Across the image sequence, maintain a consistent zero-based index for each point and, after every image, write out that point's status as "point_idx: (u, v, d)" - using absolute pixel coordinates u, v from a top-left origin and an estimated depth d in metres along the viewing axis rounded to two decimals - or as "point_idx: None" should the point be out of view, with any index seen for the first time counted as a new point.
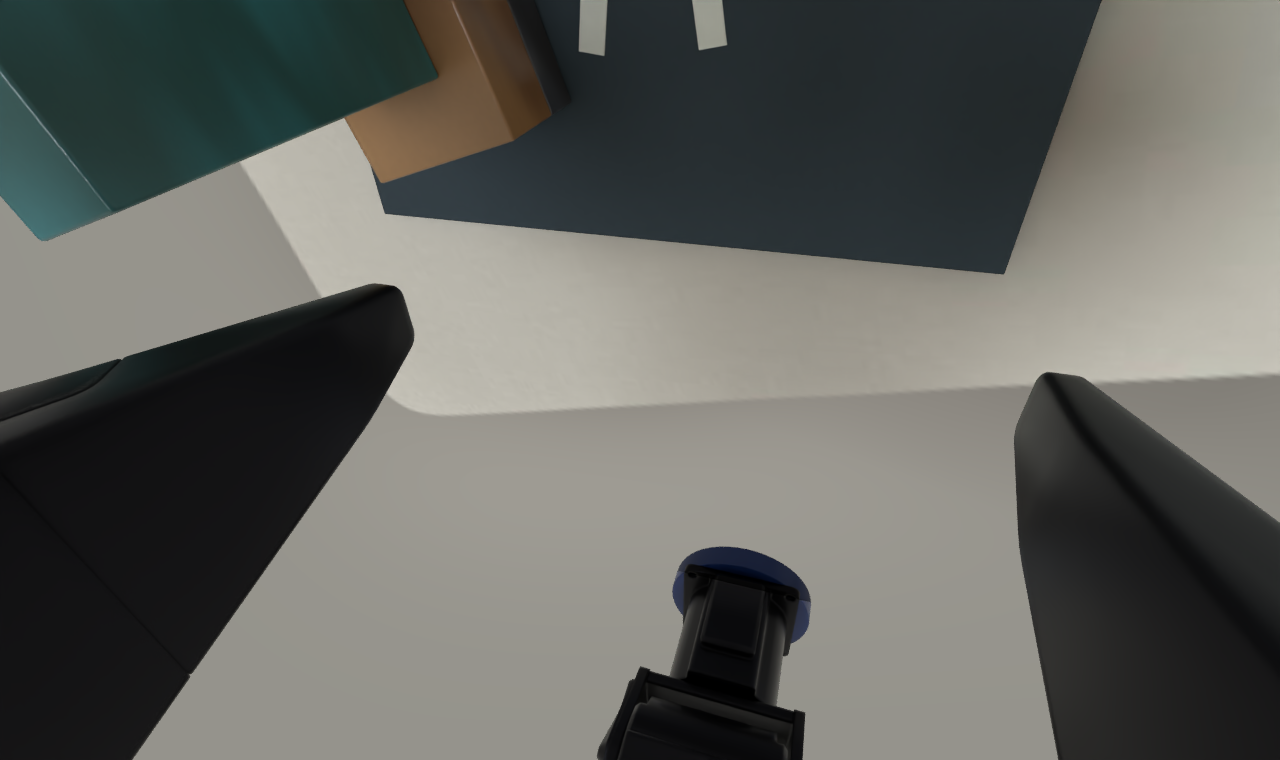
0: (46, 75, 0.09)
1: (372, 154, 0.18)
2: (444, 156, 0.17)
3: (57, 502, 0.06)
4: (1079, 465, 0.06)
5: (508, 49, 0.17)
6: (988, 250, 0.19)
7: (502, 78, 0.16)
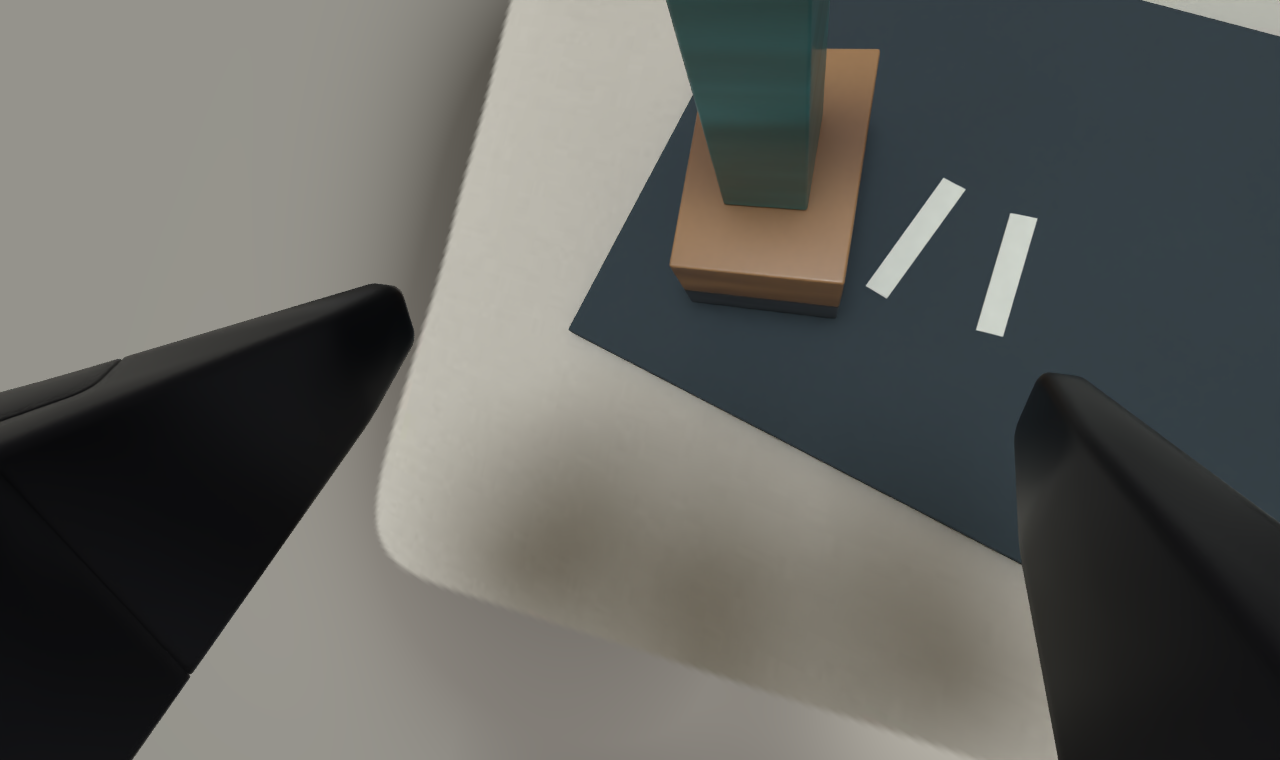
0: None
1: (683, 240, 0.18)
2: (760, 269, 0.18)
3: (56, 502, 0.06)
4: (1079, 465, 0.06)
5: None
6: None
7: None
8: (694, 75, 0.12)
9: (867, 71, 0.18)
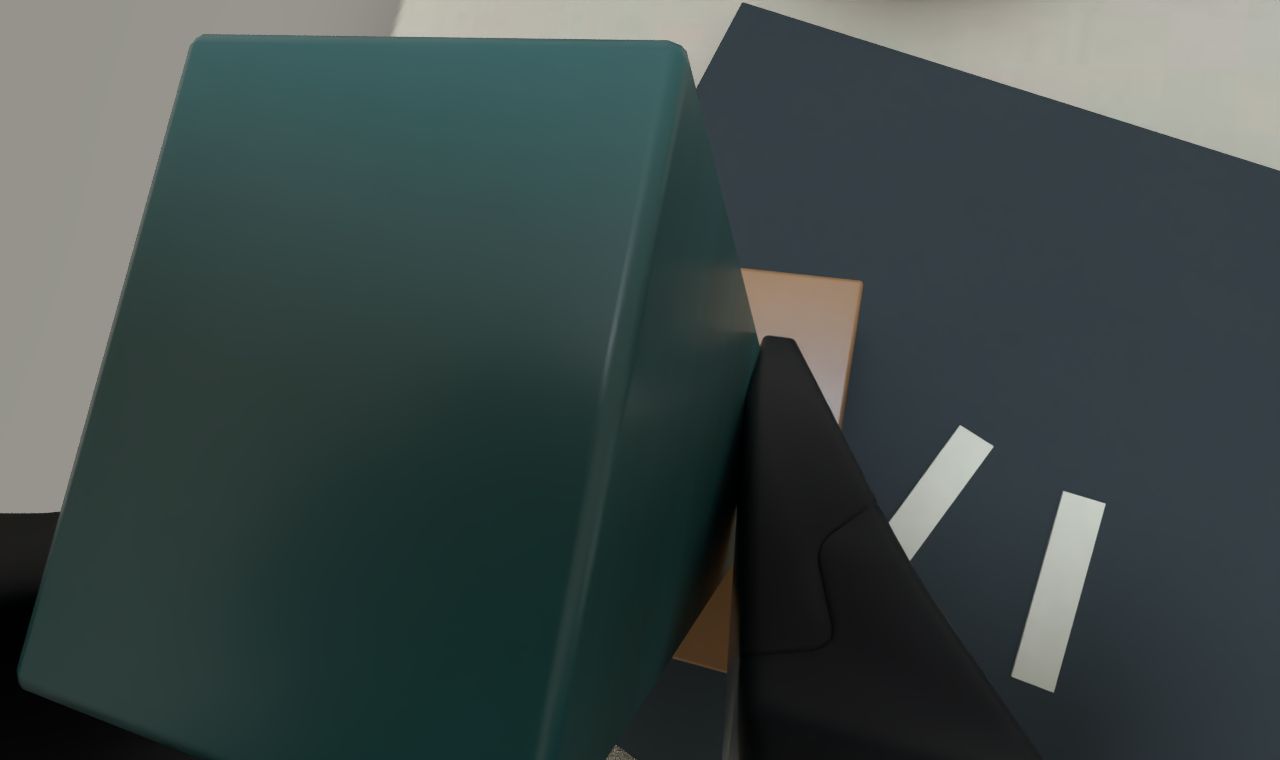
0: (663, 351, 0.03)
1: None
2: None
3: None
4: (745, 410, 0.07)
5: None
6: None
7: None
8: None
9: (842, 318, 0.11)
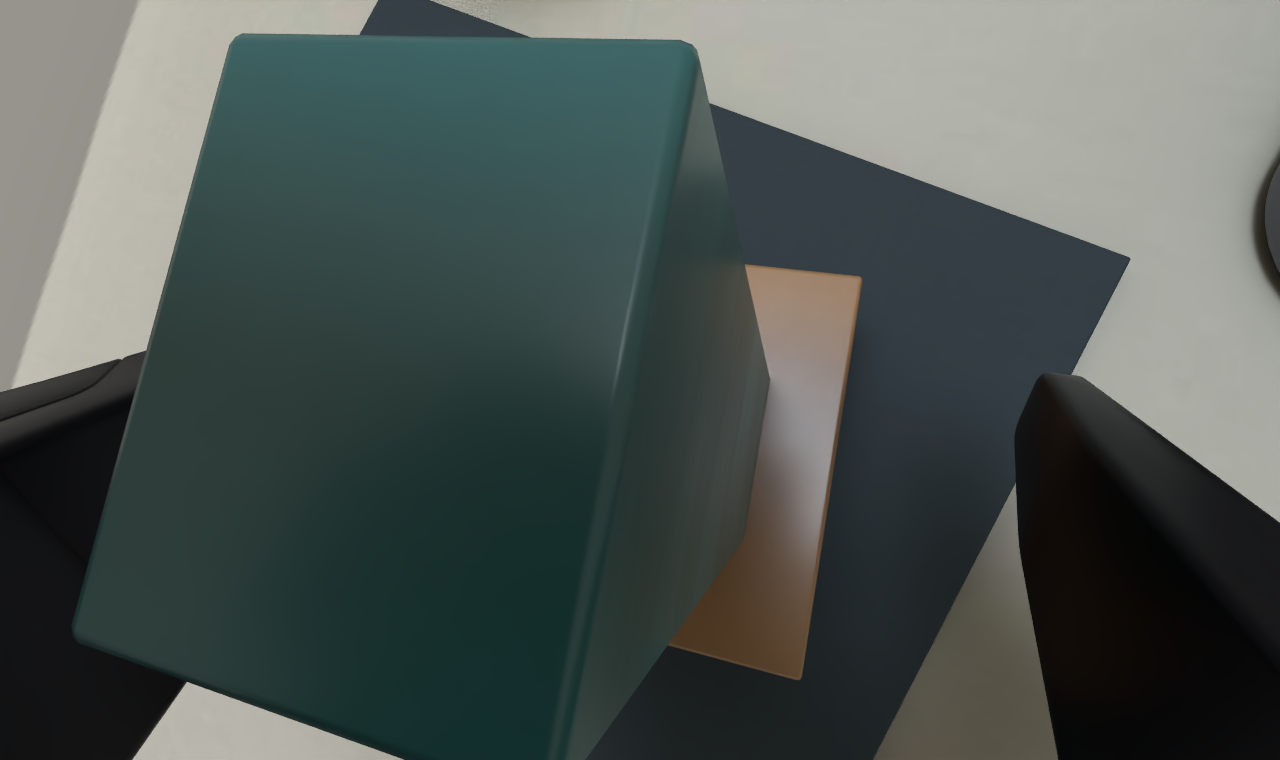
0: (670, 329, 0.03)
1: None
2: None
3: (57, 502, 0.06)
4: (1079, 465, 0.06)
5: None
6: None
7: None
8: None
9: (841, 313, 0.11)
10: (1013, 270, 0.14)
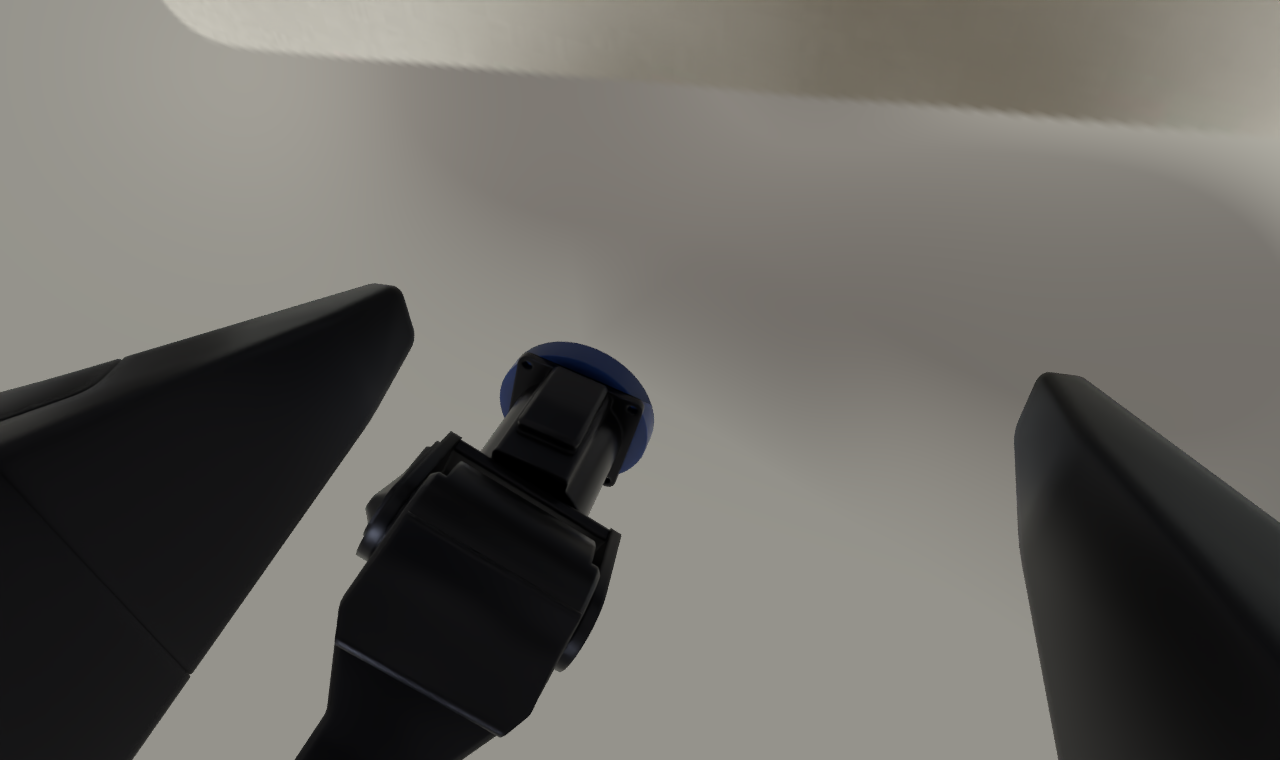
0: None
1: None
2: None
3: (57, 501, 0.06)
4: (1079, 465, 0.06)
5: None
6: None
7: None
8: None
9: None
10: None
